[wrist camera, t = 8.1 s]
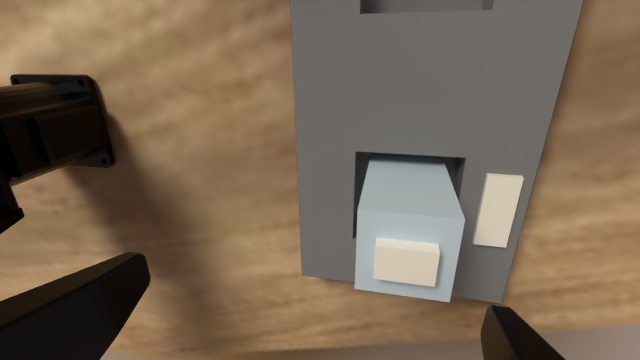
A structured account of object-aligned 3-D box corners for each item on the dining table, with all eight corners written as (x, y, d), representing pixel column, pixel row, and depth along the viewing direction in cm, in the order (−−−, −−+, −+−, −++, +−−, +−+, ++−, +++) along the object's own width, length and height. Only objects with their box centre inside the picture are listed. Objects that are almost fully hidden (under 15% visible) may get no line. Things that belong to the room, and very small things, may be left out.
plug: (368, 213, 21) (352, 298, 14) (371, 153, 19) (355, 217, 12) (433, 219, 20) (451, 312, 13) (442, 157, 18) (468, 227, 12)
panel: (311, 252, 24) (300, 278, 21) (298, -207, 14) (276, -260, 12) (490, 275, 21) (502, 307, 19) (621, -264, 12) (683, -347, 9)
